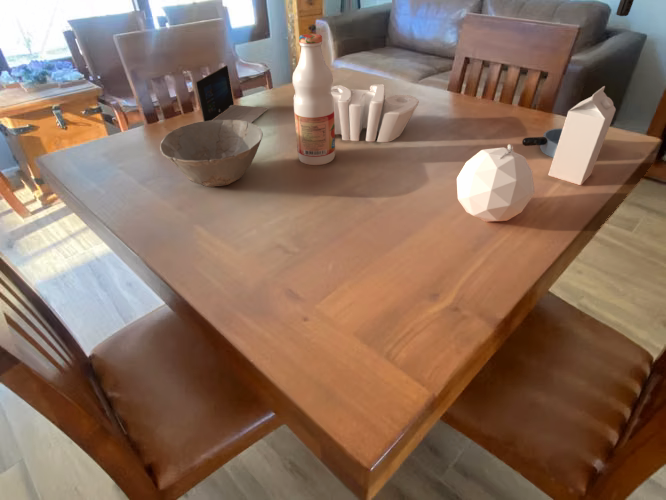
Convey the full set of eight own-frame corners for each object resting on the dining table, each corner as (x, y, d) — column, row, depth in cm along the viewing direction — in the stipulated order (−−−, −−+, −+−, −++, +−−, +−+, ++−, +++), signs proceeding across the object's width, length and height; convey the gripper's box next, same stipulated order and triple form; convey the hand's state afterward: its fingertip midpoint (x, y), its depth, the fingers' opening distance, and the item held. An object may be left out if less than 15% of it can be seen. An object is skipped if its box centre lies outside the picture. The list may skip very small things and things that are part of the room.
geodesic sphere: (467, 159, 91) (468, 121, 78) (538, 171, 86) (552, 133, 73) (448, 222, 89) (445, 194, 76) (520, 239, 84) (531, 212, 70)
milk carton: (547, 176, 97) (574, 91, 85) (559, 165, 101) (586, 82, 89) (580, 186, 93) (613, 98, 81) (591, 174, 97) (624, 89, 85)
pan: (529, 164, 102) (534, 148, 99) (510, 143, 111) (514, 128, 109) (602, 160, 102) (608, 144, 100) (577, 140, 112) (582, 125, 109)
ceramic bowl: (257, 150, 112) (252, 113, 105) (276, 192, 94) (271, 150, 88) (169, 164, 106) (158, 126, 100) (172, 211, 89) (159, 167, 83)
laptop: (243, 131, 122) (235, 85, 114) (204, 127, 125) (194, 82, 117) (268, 110, 135) (263, 67, 127) (233, 107, 139) (226, 64, 131)
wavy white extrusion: (285, 136, 118) (281, 98, 112) (302, 115, 131) (300, 79, 125) (412, 146, 111) (416, 105, 105) (417, 122, 124) (421, 85, 118)
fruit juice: (291, 155, 109) (280, 35, 92) (322, 146, 113) (318, 29, 95) (309, 169, 102) (301, 42, 85) (342, 159, 106) (341, 36, 89)
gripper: (690, -73, 89) (654, 19, 100) (649, -74, 100) (620, 10, 110) (655, -72, 89) (623, 21, 99) (617, -73, 99) (592, 11, 110)
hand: (621, 15), depth 105 cm, fingers closed
